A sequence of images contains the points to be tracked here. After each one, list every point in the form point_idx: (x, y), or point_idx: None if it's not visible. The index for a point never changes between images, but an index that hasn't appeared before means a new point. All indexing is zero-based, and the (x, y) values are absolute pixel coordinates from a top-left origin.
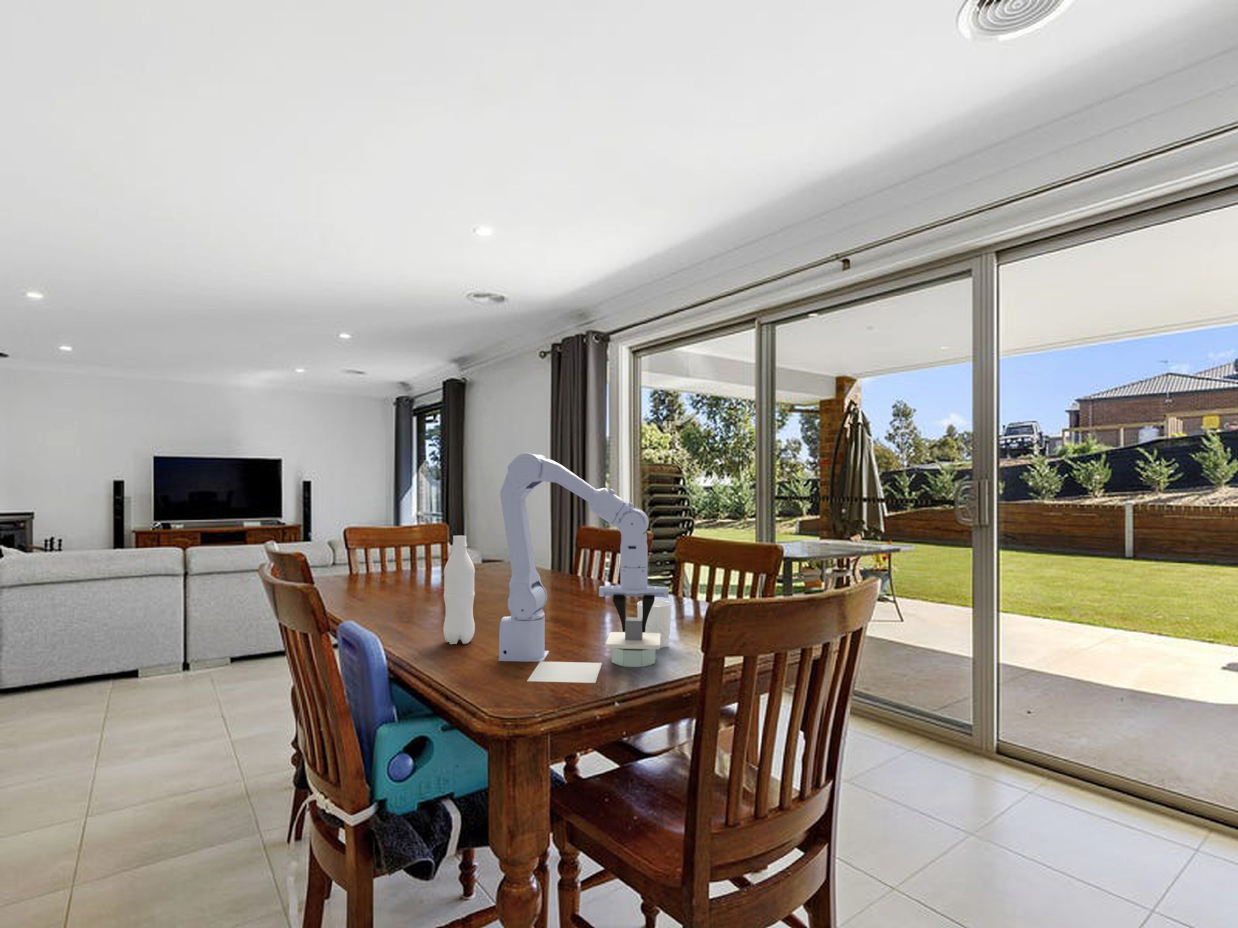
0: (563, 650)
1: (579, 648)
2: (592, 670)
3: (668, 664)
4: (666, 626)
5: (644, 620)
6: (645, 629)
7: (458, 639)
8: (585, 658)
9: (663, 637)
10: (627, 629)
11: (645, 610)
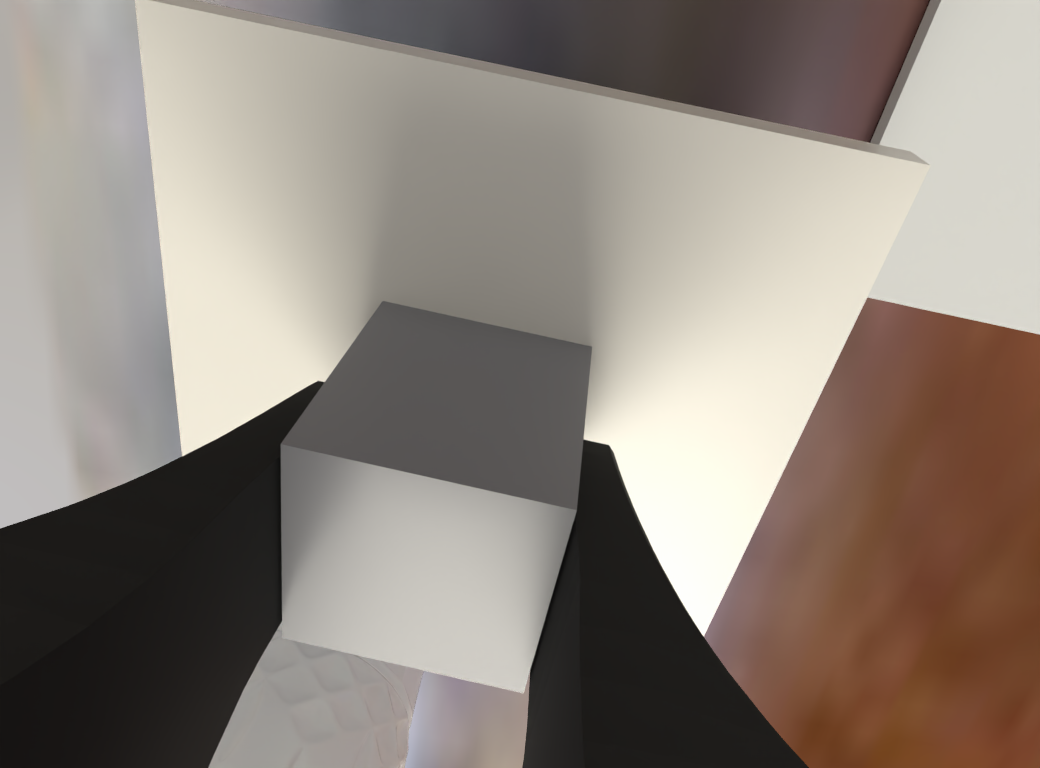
0: (995, 676)
1: (856, 691)
2: (1012, 27)
3: None
4: None
5: (237, 455)
6: (343, 720)
7: None
8: (895, 481)
9: None
10: (550, 412)
11: (93, 549)
